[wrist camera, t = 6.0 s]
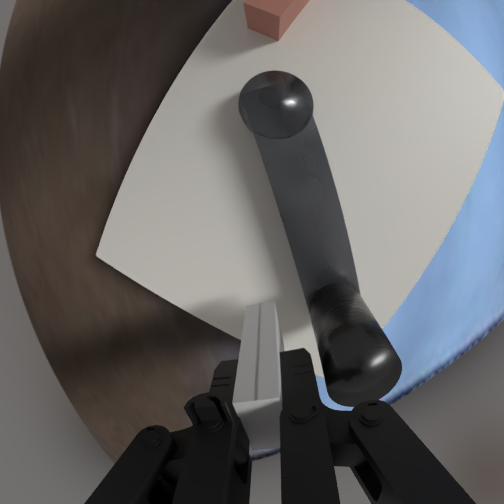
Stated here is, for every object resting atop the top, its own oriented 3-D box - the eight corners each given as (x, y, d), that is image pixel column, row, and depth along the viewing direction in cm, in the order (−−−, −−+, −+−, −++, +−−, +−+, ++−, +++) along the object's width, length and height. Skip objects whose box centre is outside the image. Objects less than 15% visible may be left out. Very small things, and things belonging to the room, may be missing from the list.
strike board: (287, -42, 12) (289, -82, 7) (490, 96, 13) (530, 88, 9) (109, 247, 19) (69, 270, 14) (330, 366, 21) (342, 411, 16)
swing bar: (232, 90, 13) (200, 29, 6) (296, 72, 13) (316, 1, 6) (307, 325, 17) (325, 416, 10) (362, 308, 16) (408, 389, 9)
